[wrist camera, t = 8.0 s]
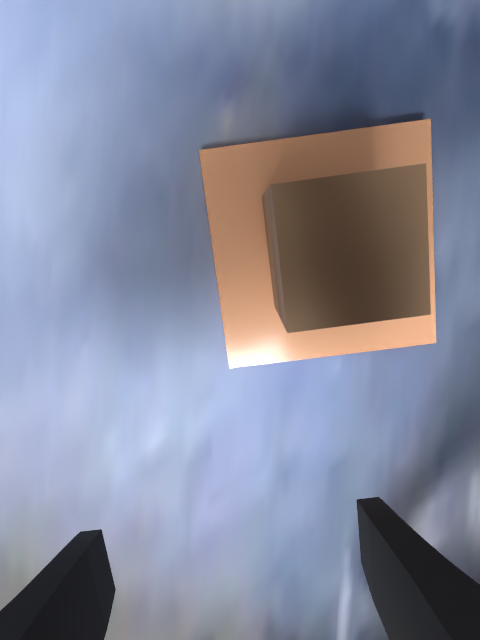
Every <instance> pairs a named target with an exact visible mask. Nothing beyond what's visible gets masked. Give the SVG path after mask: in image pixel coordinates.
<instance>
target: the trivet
mask: <svg viewBox="0 0 480 640" xmlns="http://www.w3.org/2000/svg"><path fill="white" fill-rule="evenodd" d="M199 156H200V163H201V170H202V177H203V185H204V192H205V199H206V206H207V213H208V220H209V227H210V234H211V242H212V249H213V256H214V263H215V270H216V277H217V284H218V292H219V299H220V306H221V313H222V320H223V327H224V334H225V342H226V349H227V356H228V363H229V368H238V367H246V366H254V365H262V364H270V363H278V362H286V361H294V360H302V359H310V358H318V357H326V356H334V355H343V354H351V353H359V352H367V351H375V350H383V349H391V348H399V347H407V346H415V345H423V344H431V343H436V315H435V273H434V231H433V189H432V147H431V119H425V120H418V121H410V122H403V123H395V124H388V125H380V126H373V127H366V128H358V129H351V130H343V131H336V132H328V133H321V134H314V135H306V136H299V137H291V138H284V139H276V140H269V141H262V142H254V143H247V144H239V145H232V146H225V147H217V148H210V149H202V150H199ZM423 163H426V174H427V207H428V239H429V271H430V303H431V315H424V316H417V317H409V318H401V319H393V320H386V321H378V322H370V323H363V324H355V325H347V326H340V327H332V328H324V329H316V330H309V331H301V332H293V333H287V331H286V329H285V327H284V325H283V323H282V321H281V319H280V317H279V315H278V313H277V311H276V309H275V306H274V297H273V289H272V280H271V271H270V263H269V254H268V245H267V237H266V228H265V220H264V211H263V202H262V196H263V194H264V193H265V192H266V190H267V189H268V188H269V187H270V185H271V184H278V183H285V182H293V181H300V180H307V179H314V178H322V177H329V176H336V175H343V174H351V173H358V172H365V171H373V170H380V169H387V168H394V167H402V166H409V165H416V164H423Z"/></svg>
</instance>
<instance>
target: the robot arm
mask: <svg viewBox="0 0 480 640" xmlns="http://www.w3.org/2000/svg"><path fill="white" fill-rule="evenodd" d="M357 511H358V524H359V538H360V551H361V563H362V566H363V569H364V573H365V576H366V579H367V583H368V586H369V589H370V592H371V595H372V598H373V602H374V604H375V606H376V609H377V611H378V614H379V616H380V618H381V621H382V623H383V626H384V628H385V630H386V633H387V635H388V637H389V640H480V585H479V584H478V583H477V582H475V581H474V580H473V579H471V578H470V577H469V576H468V575H466V574H465V573H464V572H462V571H461V570H460V569H459V568H457V567H456V566H455V565H454V564H452V563H451V562H450V561H449V560H448V559H446V558H445V557H444V556H443V555H441V554H440V553H439V552H438V551H437V550H436V549H435V548H433V547H432V546H431V545H430V544H429V543H428V542H427V541H425V540H424V539H423V538H422V537H421V536H420V535H419V534H418V533H416V532H415V531H414V530H413V529H412V528H411V527H410V526H409V525H408V524H407V523H406V522H405V521H404V520H402V519H401V518H400V517H399V516H398V515H397V514H396V513H395V512H394V511H393V510H392V509H391V508H390V507H389V506H388V505H387V504H386V503H385V502H384V501H383V500H382V499H380V498H379V497H375V498H366V499H358V500H357ZM114 595H115V585H114V581H113V577H112V573H111V568H110V564H109V560H108V555H107V551H106V547H105V543H104V538H103V534H102V530H101V529H100V530H92V531H83V532H80V533H79V534H77V535H76V536H75V537H74V538H73V539H72V540H71V541H70V542H69V543H68V544H67V545H66V546H65V547H64V548H63V549H62V550H61V551H60V552H59V553H58V554H57V556H56V557H55V558H54V559H53V560H52V561H51V562H50V563H49V564H48V565H47V566H46V567H45V568H44V569H43V570H42V571H41V572H40V573H39V574H38V575H37V576H36V577H35V578H34V579H33V580H32V581H31V582H30V583H29V584H28V585H27V586H26V587H25V588H24V589H23V590H22V591H21V592H20V593H19V594H18V595H17V596H16V597H15V598H14V599H13V600H12V601H11V602H9V603H8V604H7V605H6V606H5V607H4V608H3V609H2V610H1V611H0V640H104V637H105V634H106V631H107V627H108V622H109V618H110V614H111V609H112V604H113V599H114Z"/></svg>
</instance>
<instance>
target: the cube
mask: <svg viewBox="0 0 480 640" xmlns="http://www.w3.org/2000/svg"><path fill="white" fill-rule="evenodd" d="M262 202H263V211H264V220H265V228H266V237H267V245H268V254H269V263H270V271H271V280H272V289H273V297H274V306H275V309H276V311H277V313H278V315H279V317H280V319H281V321H282V323H283V325H284V327H285V329H286V331H287V333H293V332H301V331H309V330H316V329H324V328H332V327H340V326H347V325H355V324H363V323H370V322H378V321H386V320H393V319H401V318H409V317H417V316H424V315H431V303H430V271H429V239H428V207H427V174H426V163H423V164H416V165H409V166H402V167H394V168H387V169H380V170H373V171H365V172H358V173H351V174H343V175H336V176H329V177H322V178H314V179H307V180H300V181H293V182H285V183H278V184H271V185H270V187H269V188H268V189H267V190H266V192H265V193H264V194H263V196H262Z"/></svg>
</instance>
